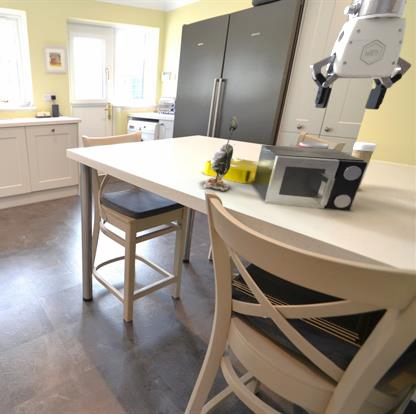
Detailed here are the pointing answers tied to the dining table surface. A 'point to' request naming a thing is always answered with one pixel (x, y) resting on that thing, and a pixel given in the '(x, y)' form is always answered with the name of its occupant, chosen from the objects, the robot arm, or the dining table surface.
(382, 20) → the robot arm
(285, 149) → the microwave
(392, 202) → the dining table surface
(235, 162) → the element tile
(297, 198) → the microwave door
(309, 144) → the canned food
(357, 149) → the sprinkles bottle
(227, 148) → the plant with pod
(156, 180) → the dining table surface
